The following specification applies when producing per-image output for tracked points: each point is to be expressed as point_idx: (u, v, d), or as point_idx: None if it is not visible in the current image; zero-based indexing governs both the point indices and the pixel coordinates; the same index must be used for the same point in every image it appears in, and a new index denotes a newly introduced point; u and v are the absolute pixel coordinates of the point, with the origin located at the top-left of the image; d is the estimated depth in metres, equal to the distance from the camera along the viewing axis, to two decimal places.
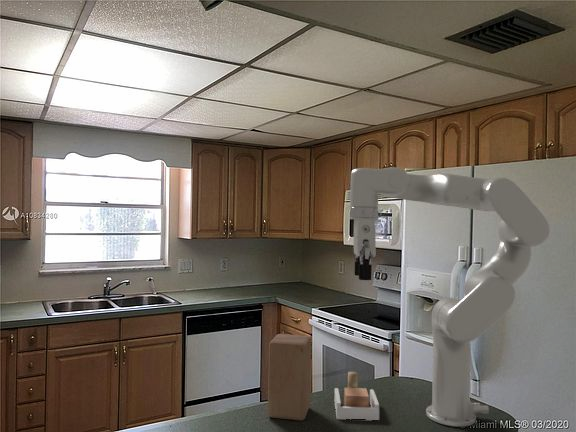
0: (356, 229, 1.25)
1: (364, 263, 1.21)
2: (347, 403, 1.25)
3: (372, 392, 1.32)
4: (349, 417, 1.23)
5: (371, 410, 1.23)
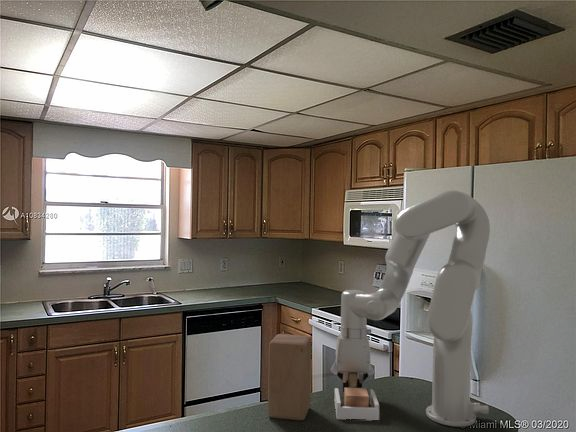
0: (364, 348, 1.37)
1: None
2: (347, 403, 1.25)
3: (372, 392, 1.32)
4: (349, 417, 1.23)
5: (371, 410, 1.23)
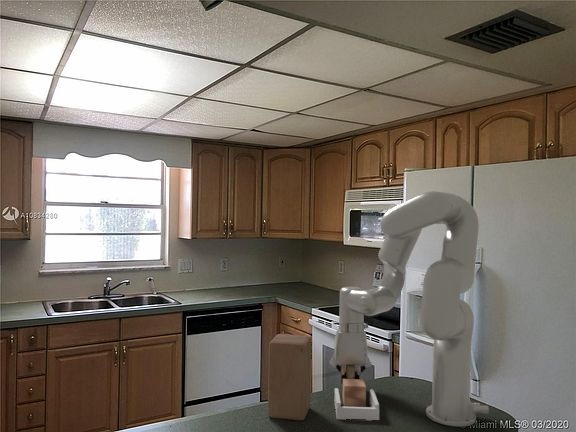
0: (361, 342, 1.44)
1: None
2: (345, 393, 1.32)
3: (372, 392, 1.32)
4: (349, 417, 1.23)
5: (371, 410, 1.23)
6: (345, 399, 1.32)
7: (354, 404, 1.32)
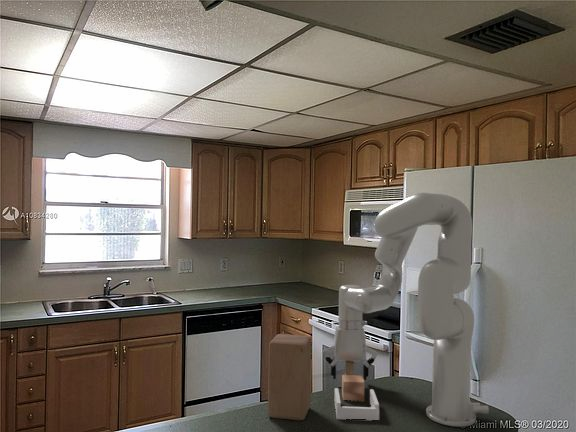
0: (360, 339, 1.48)
1: None
2: (344, 388, 1.36)
3: (372, 392, 1.32)
4: (349, 417, 1.23)
5: (371, 410, 1.23)
6: (344, 394, 1.36)
7: (353, 399, 1.36)
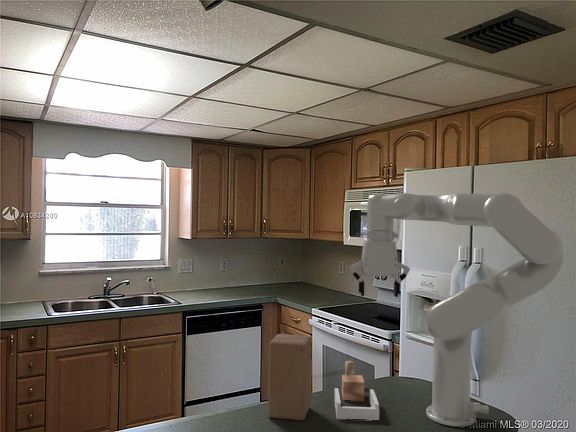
0: (391, 251, 1.35)
1: None
2: (344, 388, 1.36)
3: (372, 392, 1.32)
4: (349, 417, 1.23)
5: (371, 410, 1.23)
6: (344, 394, 1.36)
7: (353, 399, 1.36)
